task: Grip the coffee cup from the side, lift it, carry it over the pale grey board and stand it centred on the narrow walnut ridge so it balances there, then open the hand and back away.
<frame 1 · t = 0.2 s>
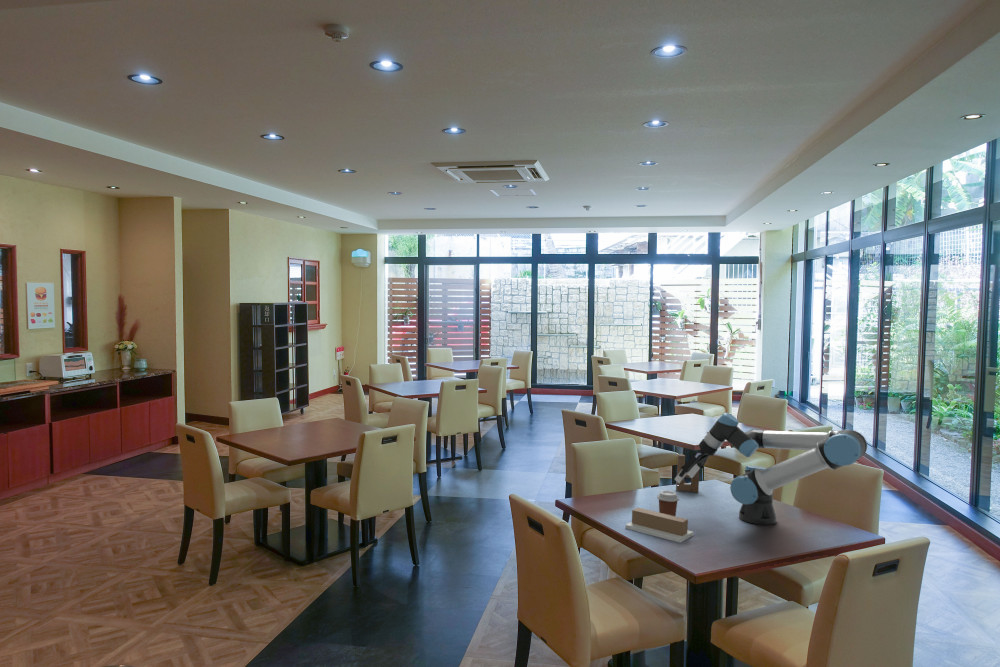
hand: (683, 478, 291), 15 cm above the table, tool tilted 35°, fingers open, 13 cm apart
brown wooden angular stand: (687, 491, 327), on the table
coffee cup: (667, 521, 278), on the table
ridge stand: (658, 531, 264), on the table
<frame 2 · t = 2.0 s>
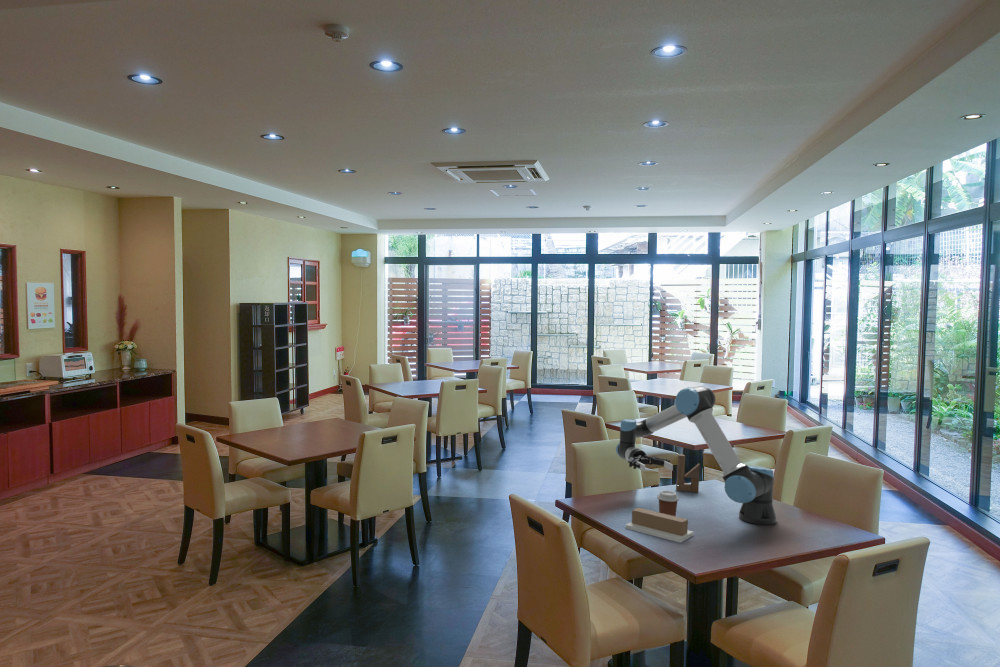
hand: (658, 467, 287), 21 cm above the table, tool horizontal, fingers open, 13 cm apart
nothing on the table moved.
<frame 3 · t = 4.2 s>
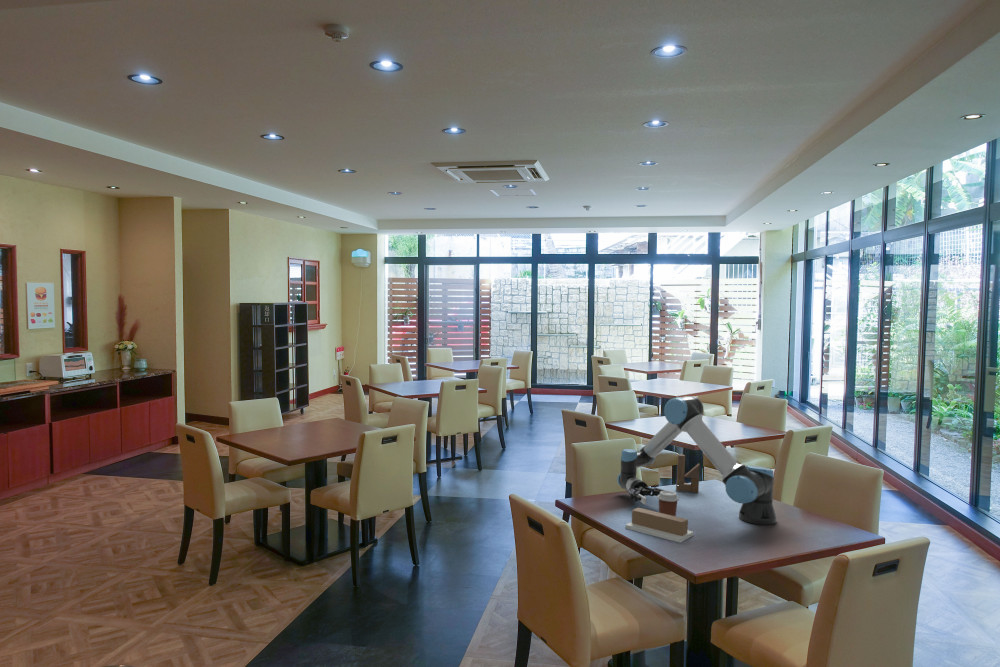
hand: (659, 500, 284), 7 cm above the table, tool horizontal, fingers open, 13 cm apart
nothing on the table moved.
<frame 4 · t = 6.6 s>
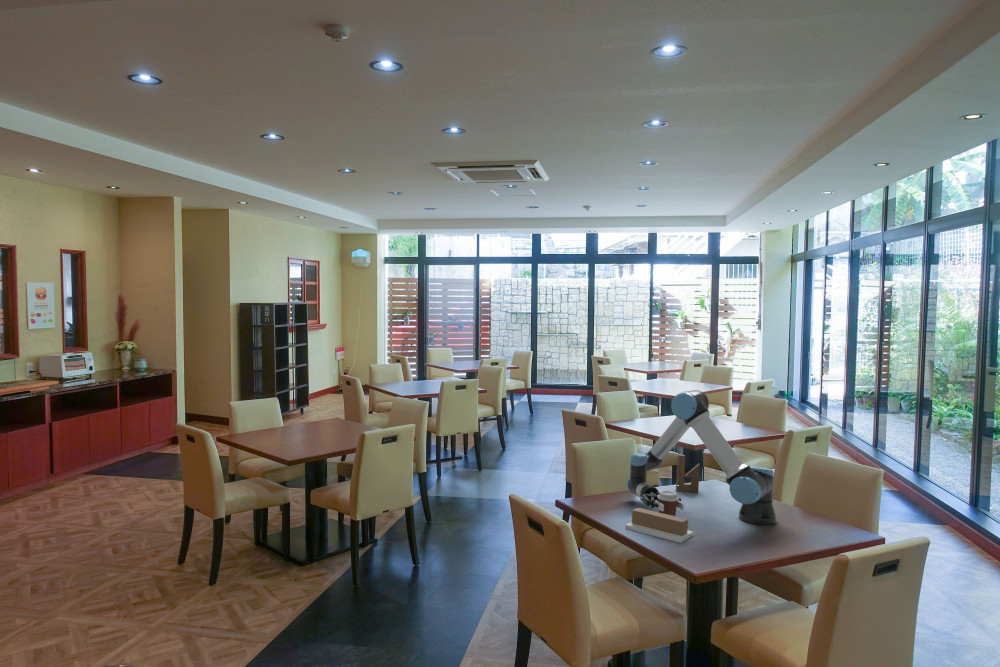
hand: (673, 507, 274), 7 cm above the table, tool horizontal, fingers closed on coffee cup, 9 cm apart
coffee cup: (667, 521, 278), on the table, touching gripper
everything else where it was.
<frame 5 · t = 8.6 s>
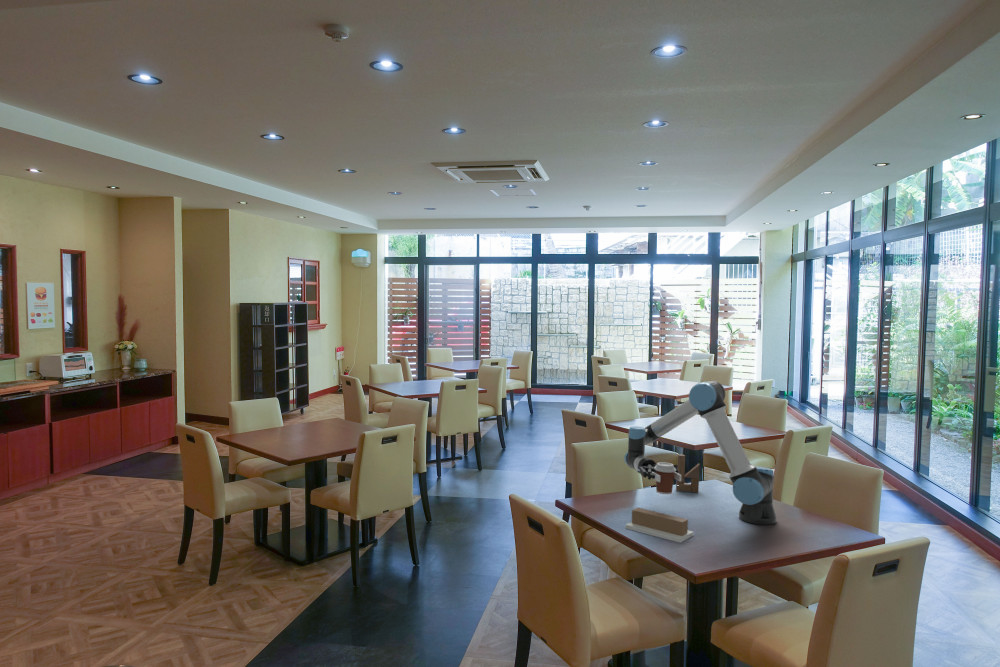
hand: (670, 478, 270), 20 cm above the table, tool horizontal, fingers closed on coffee cup, 9 cm apart
coffee cup: (664, 492, 275), point 13 cm above the table, touching gripper
everything else where it was.
when the fingers open (15 cm above the table, at t = 11.0 s): coffee cup stays where it is, resting on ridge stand.
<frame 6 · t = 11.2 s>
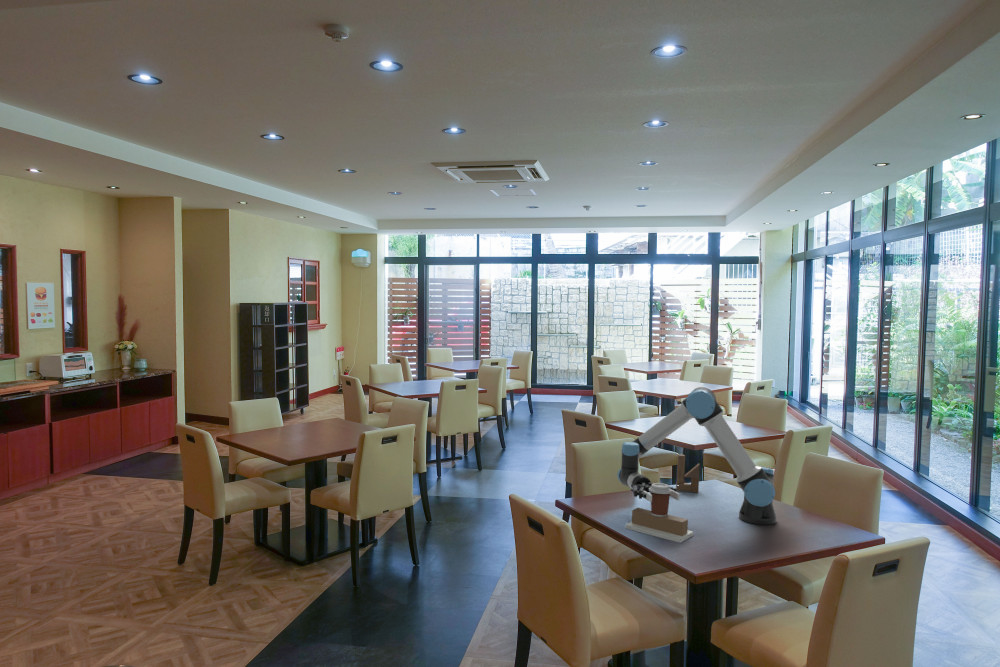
hand: (665, 497, 259), 15 cm above the table, tool horizontal, fingers open, 11 cm apart
coffee cup: (659, 514, 263), point 7 cm above the table, touching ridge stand
everything else where it was.
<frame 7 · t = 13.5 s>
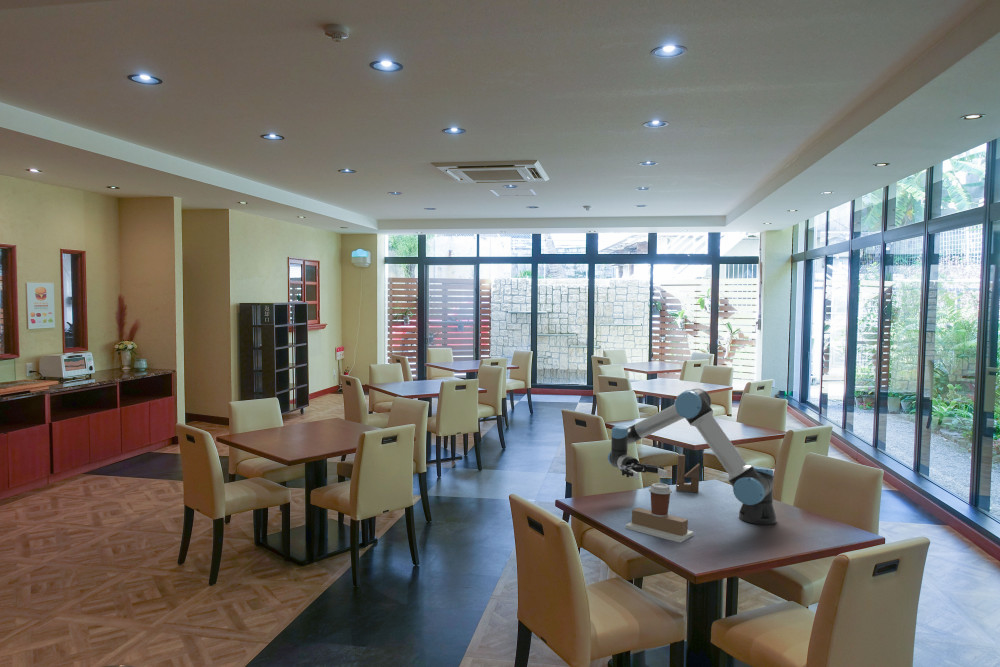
hand: (652, 475, 276), 20 cm above the table, tool horizontal, fingers open, 13 cm apart
nothing on the table moved.
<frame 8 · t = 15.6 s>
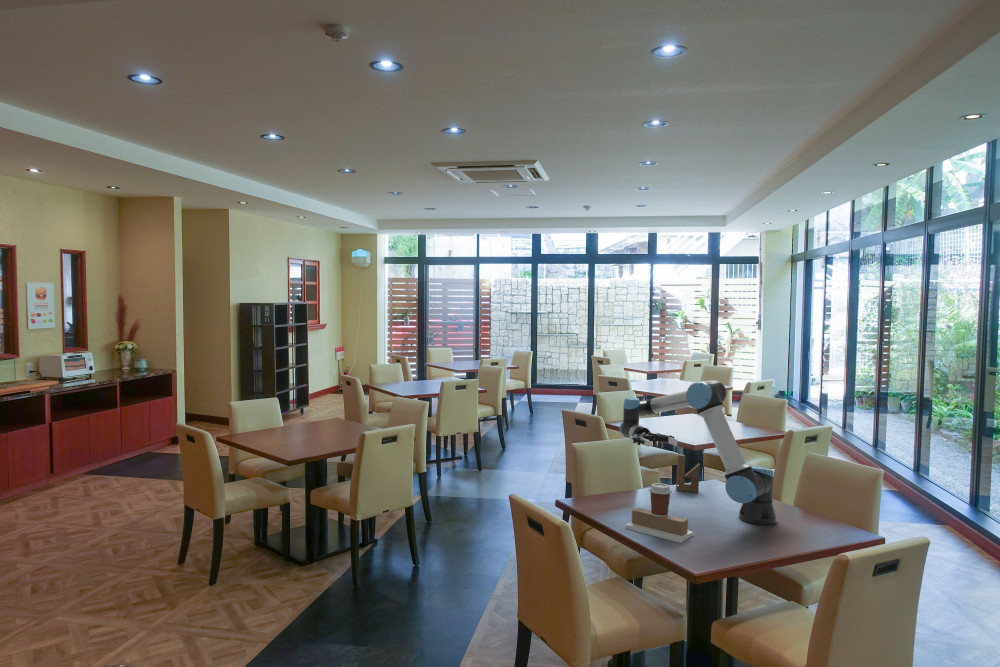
hand: (662, 443, 284), 32 cm above the table, tool horizontal, fingers open, 13 cm apart
nothing on the table moved.
at the end: coffee cup inside the target area on the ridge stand (0.1 cm from its centre), point 6.8 cm above the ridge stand's base; coffee cup tilted 0°; the gripper is holding nothing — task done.
